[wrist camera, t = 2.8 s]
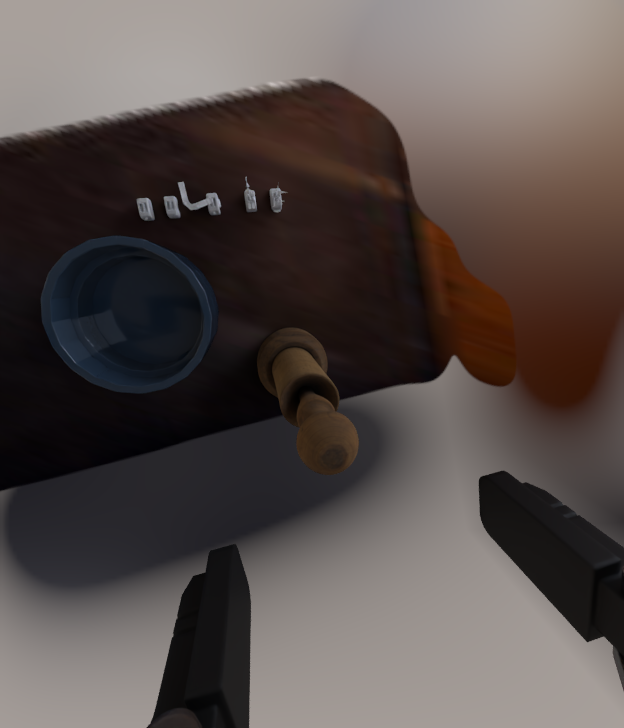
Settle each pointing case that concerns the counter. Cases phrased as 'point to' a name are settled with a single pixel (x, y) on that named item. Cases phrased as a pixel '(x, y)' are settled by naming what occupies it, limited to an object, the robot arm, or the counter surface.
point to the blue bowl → (129, 313)
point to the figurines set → (205, 203)
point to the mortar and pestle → (308, 399)
